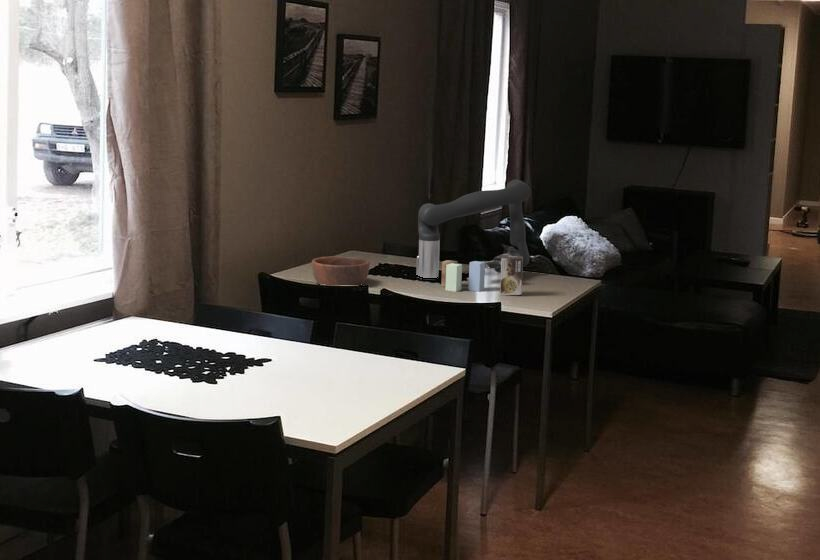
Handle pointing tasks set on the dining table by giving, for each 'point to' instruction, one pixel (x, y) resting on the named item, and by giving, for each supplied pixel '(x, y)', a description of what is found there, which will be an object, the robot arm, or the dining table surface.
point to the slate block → (476, 276)
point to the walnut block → (444, 263)
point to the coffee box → (511, 274)
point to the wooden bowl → (340, 270)
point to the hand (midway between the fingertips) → (488, 268)
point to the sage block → (453, 277)
